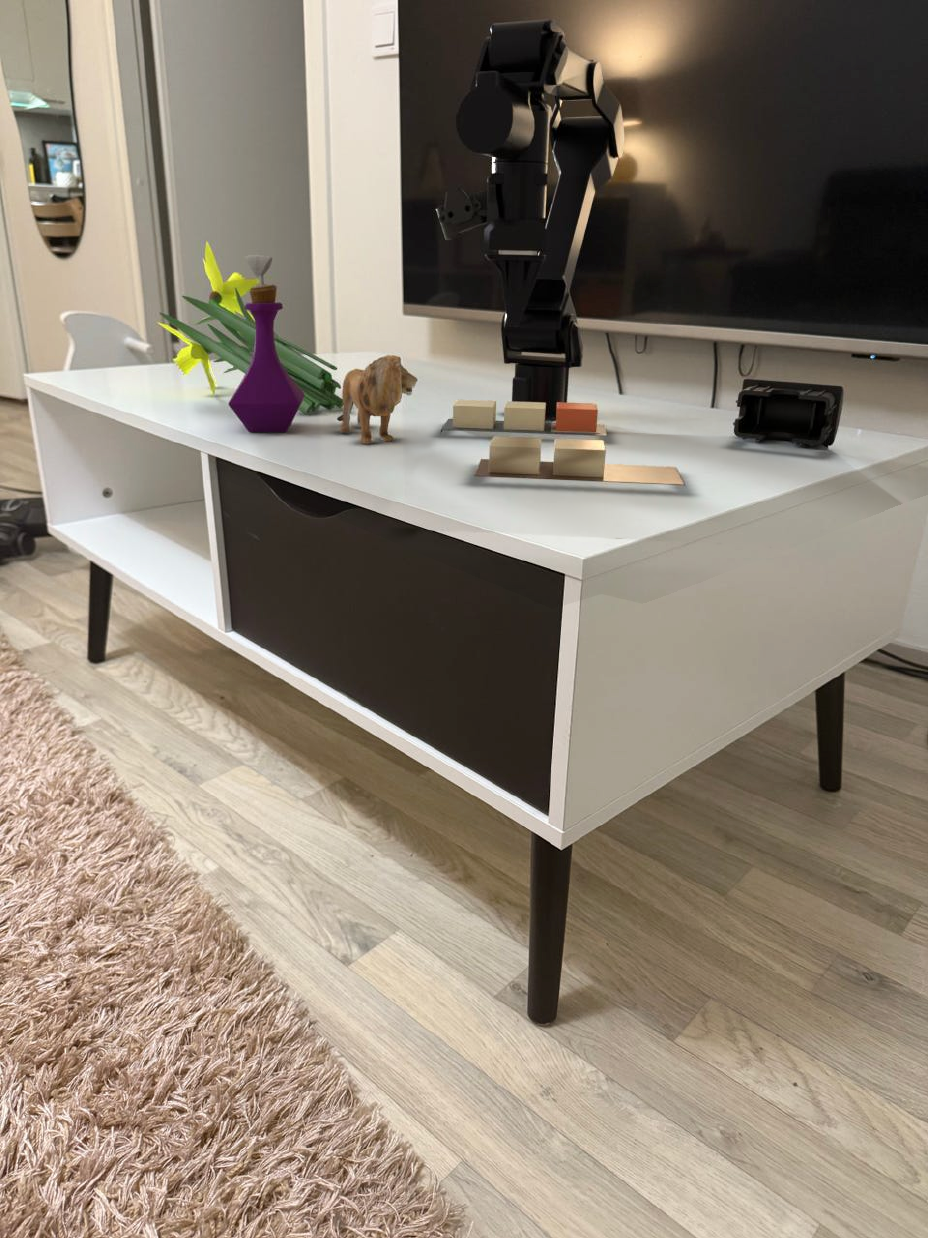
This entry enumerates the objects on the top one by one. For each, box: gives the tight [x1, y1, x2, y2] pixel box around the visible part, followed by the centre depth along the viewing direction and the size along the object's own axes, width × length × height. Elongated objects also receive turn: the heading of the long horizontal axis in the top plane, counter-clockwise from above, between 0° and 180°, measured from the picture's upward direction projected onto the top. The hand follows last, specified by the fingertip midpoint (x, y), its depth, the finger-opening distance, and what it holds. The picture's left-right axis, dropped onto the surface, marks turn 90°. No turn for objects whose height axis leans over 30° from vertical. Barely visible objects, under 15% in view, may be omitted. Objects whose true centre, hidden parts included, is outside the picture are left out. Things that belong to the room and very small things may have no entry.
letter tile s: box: [555, 402, 599, 432], centre depth 100 cm, size 4×4×2 cm
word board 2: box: [473, 435, 686, 486], centre depth 80 cm, size 18×7×3 cm, turn 84°
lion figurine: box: [336, 354, 418, 445], centre depth 96 cm, size 15×5×9 cm, turn 33°
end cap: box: [732, 378, 845, 449], centre depth 95 cm, size 10×7×7 cm
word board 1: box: [439, 399, 608, 437], centre depth 100 cm, size 18×7×3 cm, turn 84°
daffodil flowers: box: [156, 241, 343, 415], centre depth 120 cm, size 17×15×35 cm
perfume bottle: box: [228, 254, 305, 433], centre depth 97 cm, size 8×8×18 cm
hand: (513, 323), depth 99 cm, fingers open, 9 cm apart
